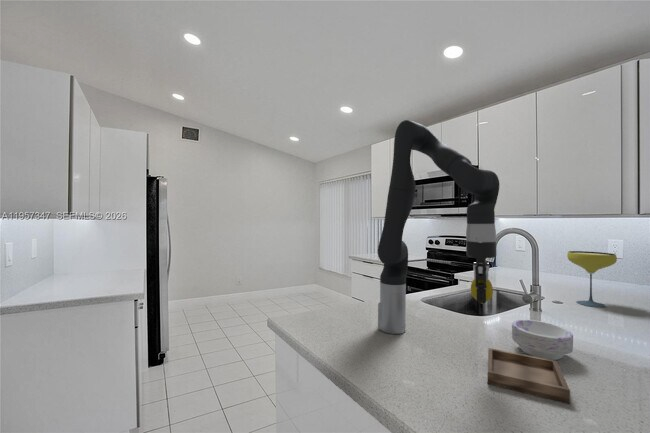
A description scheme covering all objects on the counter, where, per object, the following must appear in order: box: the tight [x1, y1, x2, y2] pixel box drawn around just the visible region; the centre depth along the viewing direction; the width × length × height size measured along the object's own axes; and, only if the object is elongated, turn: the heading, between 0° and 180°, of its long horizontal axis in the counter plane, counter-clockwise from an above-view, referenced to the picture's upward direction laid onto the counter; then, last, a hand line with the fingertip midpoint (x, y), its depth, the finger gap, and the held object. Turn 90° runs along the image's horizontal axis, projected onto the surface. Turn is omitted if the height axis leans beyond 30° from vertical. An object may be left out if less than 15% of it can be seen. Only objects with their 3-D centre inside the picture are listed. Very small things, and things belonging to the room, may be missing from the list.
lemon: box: [470, 278, 494, 304], centre depth 85 cm, size 6×6×8 cm
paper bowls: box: [511, 319, 574, 361], centre depth 92 cm, size 15×15×8 cm
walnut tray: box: [487, 347, 571, 405], centre depth 77 cm, size 16×16×3 cm
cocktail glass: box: [566, 250, 618, 308], centre depth 147 cm, size 18×18×25 cm
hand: (481, 299), depth 85 cm, fingers closed on lemon, 5 cm apart
